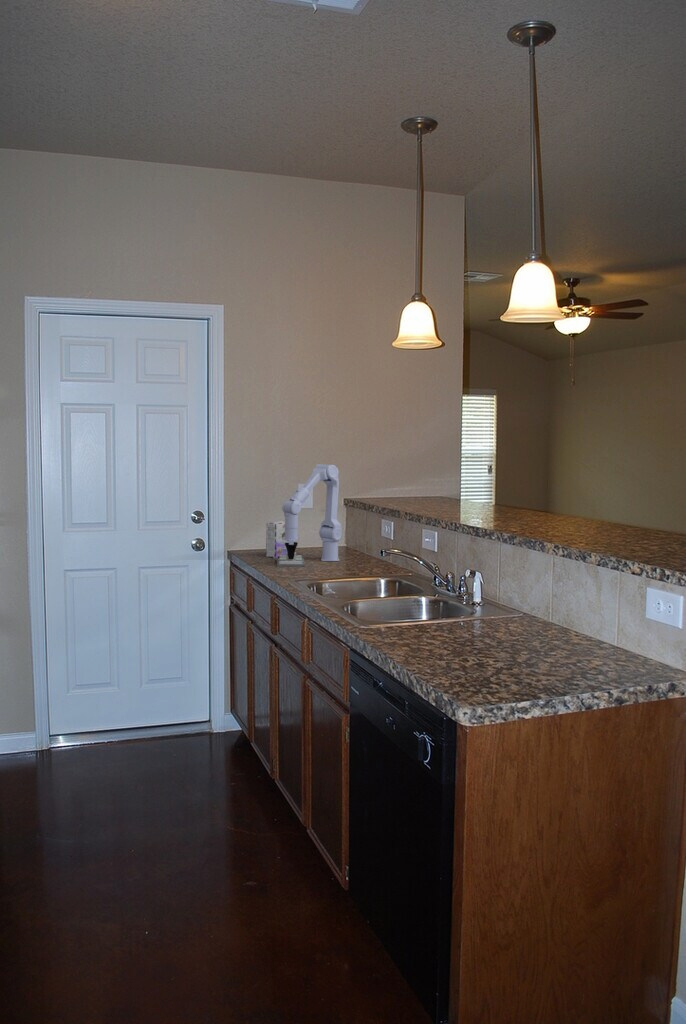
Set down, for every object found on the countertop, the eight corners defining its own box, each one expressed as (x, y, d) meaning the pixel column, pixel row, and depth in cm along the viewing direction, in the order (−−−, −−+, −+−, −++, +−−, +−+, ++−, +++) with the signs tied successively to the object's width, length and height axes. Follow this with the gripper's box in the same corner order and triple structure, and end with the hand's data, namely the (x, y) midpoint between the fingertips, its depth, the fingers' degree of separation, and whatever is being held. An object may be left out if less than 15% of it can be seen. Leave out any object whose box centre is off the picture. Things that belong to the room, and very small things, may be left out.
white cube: (285, 560, 354) (286, 550, 353) (295, 560, 354) (295, 550, 353) (285, 561, 349) (285, 551, 349) (295, 561, 350) (296, 551, 349)
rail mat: (277, 559, 362) (277, 555, 362) (303, 560, 363) (304, 555, 363) (276, 566, 344) (277, 561, 344) (304, 566, 345) (304, 561, 345)
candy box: (284, 554, 381) (285, 519, 380) (294, 555, 378) (294, 520, 376) (265, 557, 370) (266, 522, 369) (275, 558, 367) (275, 522, 365)
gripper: (282, 526, 354) (281, 556, 355) (282, 529, 339) (281, 561, 340) (298, 526, 354) (297, 556, 355) (298, 530, 340) (298, 561, 341)
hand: (290, 559), depth 348 cm, fingers closed
